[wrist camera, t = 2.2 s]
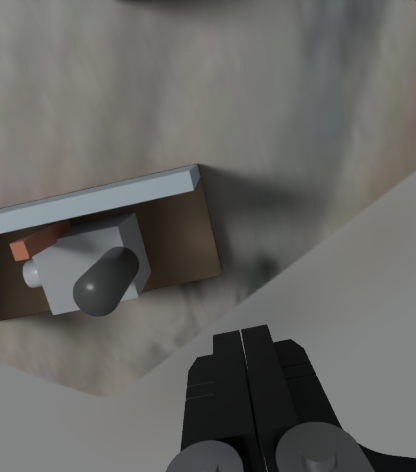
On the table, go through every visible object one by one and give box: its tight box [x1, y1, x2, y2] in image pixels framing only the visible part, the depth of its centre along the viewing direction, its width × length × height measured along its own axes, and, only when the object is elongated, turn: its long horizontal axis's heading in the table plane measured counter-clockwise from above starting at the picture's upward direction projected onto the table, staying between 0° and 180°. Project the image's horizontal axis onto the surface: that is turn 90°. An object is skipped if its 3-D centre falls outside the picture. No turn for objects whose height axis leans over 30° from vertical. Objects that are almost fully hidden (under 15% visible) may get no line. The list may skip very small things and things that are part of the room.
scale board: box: [0, 164, 200, 234], centre depth 22 cm, size 21×1×9 cm, turn 103°
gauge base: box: [0, 163, 222, 321], centre depth 28 cm, size 21×9×2 cm, turn 103°
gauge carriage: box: [9, 212, 151, 316], centre depth 22 cm, size 9×6×10 cm, turn 103°
